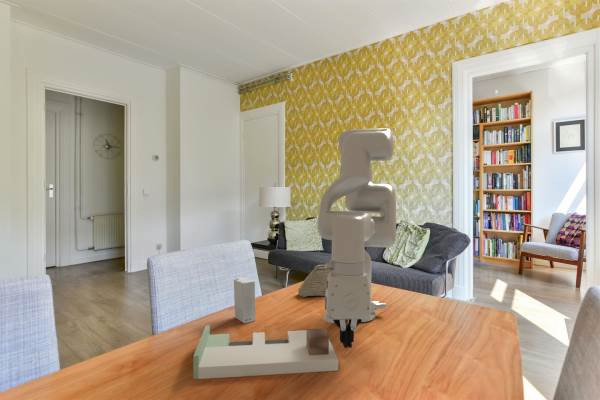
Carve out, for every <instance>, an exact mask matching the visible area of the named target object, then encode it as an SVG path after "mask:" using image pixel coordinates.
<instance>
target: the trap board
mask: <svg viewBox="0 0 600 400" xmlns="http://www.w3.org/2000/svg"><path fill="white" fill-rule="evenodd" d="M230 340H231V334H230V333H219V334H218V333H217V334H211V326H210V324H205V326H204V329H203V331H202V333H201V336H200V339H199V341H198V344H197V346H196V349H195V351H194V354H193V356H192V358H193V362H192V363H193V367H192V368H193V371H192V372H193V373H192V375H193V377H192V378H193V380H203V379H204V380H205V379H219V378H220V379H221V378H222V379H223V378H224V379H225V378H237V377H238V378H239V377H253V376H255V377H256V376H269V375H287V374H303V373H318V372H336V371H339V358H338V356H337V354H336V351H335V349H334V347H333V344H332V342H331V340H330V339H329V354H326V355H309V353H308V349H307V346H306V340H307V329H306V330H304V329H303V330H288V331H287V338H286V339H270V340H268V339H267V340H266V333H265V331H262V332H261V331H260V332H259V331H258V332H253V333H252V340H245V341H230Z"/></svg>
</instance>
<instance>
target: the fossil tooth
mask: <svg viewBox="0 0 600 400" xmlns="http://www.w3.org/2000/svg"><path fill="white" fill-rule="evenodd" d="M329 272H332V271H331V270H329V269H326V267H325V264H317V265H316V266H314V268H313V270H312V271H310V273H309V274H308V275H307V277H305V278H304V281H303V282H302V283H301V285H300V286H299V287H298V291H297V292H298V293H297V294H298V296H299V297H301V296H302V298H306V297H308V296H310V297H313V296H315V297H316V296H317V297H318V296H321V297H322V296H323V297H325V294H326V285H327V279H328V275H329Z"/></svg>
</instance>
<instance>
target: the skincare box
mask: <svg viewBox="0 0 600 400" xmlns="http://www.w3.org/2000/svg"><path fill="white" fill-rule="evenodd" d="M255 282H256V281H255V280H252V279H249V278H247V277H244V276H243V277H239V278H235V279H233V293H234V294H233V299H234V318H235V319H237V320H238V321H240V322H241V323H242V324H248V323H251V322H254V321H256V317H257V316H256V287H255V286H256V285H255V284H256V283H255Z"/></svg>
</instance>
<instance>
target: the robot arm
mask: <svg viewBox="0 0 600 400" xmlns="http://www.w3.org/2000/svg"><path fill="white" fill-rule="evenodd" d="M394 147H395V141H394V136H393V131H392V130H391V129H390V128H386V127H379V128H355V129H347V130H344V131H342V132H341V133H340V134H339V136H338V148H339V149H338V150H339V153H340V157H341V158H340V165H339V166H340V167H339V176H338V178H337V179H336V180H334V181H333V182H332V183H331V184H330V185H329V186H328V187H327V189H326V190H325V191H324V193H323V194H322V197H321V198H320V203H319V208H318V210H319V211H318V217H317V231H318V234H319V236H320V238H322V239H324V240H327V241H328V240H329V241H331V259H330V261H329V262H326V263H325V264H324V265H325V267H326V269H329V271H331V272H329V275H328V279H327V285H326V294H325V296H324V309H325V312H324V317H323V319H324V321H325V322H328V323H331V324H332V323H333V324H335V325H336V326H337V327H338V328H339V342H340V343H341V344H342V345H343V347H344V349H348V348H352V346H353V345H352V343H354V342H355V340H354V339H355V331H356V329H357V327H358V326H359V324H361V323H366V322H371V321H372V320H374V319H376V316H377V314H376V313H377V312H376V311H377V310H386V309H387V306H386V305H387V304H386V302H379V301H377V300H374V301H373V300H372V268H373V267H372V266H373V265H372V264H373V263H372V259H371V256H370V254H369V253H368V252H367V251H366V250H365V248H366V247H369V248H370V247H371V248H391V247H393V246H394V245H395V242H396V238H397V198H396V192H395V188H394V187H393V186H392V185H390V184H388V183H373V170H372V167H371V165H372V164H371V163H372V162H375V161H376V162H377V161H380V162H382V161H383V162H384V161H389V160H391V159H392V157H393V154H394V150H395V149H394ZM343 197H344V201H345V203H344V204H345V208H346V210H348V211H345V210H344V211H343V210H331V209H332V207H333V205H334V204H335V203H336V202H337V201H338V200H340V199H341V198H343ZM370 214H379V215H380V216H372V215H370ZM346 321H347V324H346Z"/></svg>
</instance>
